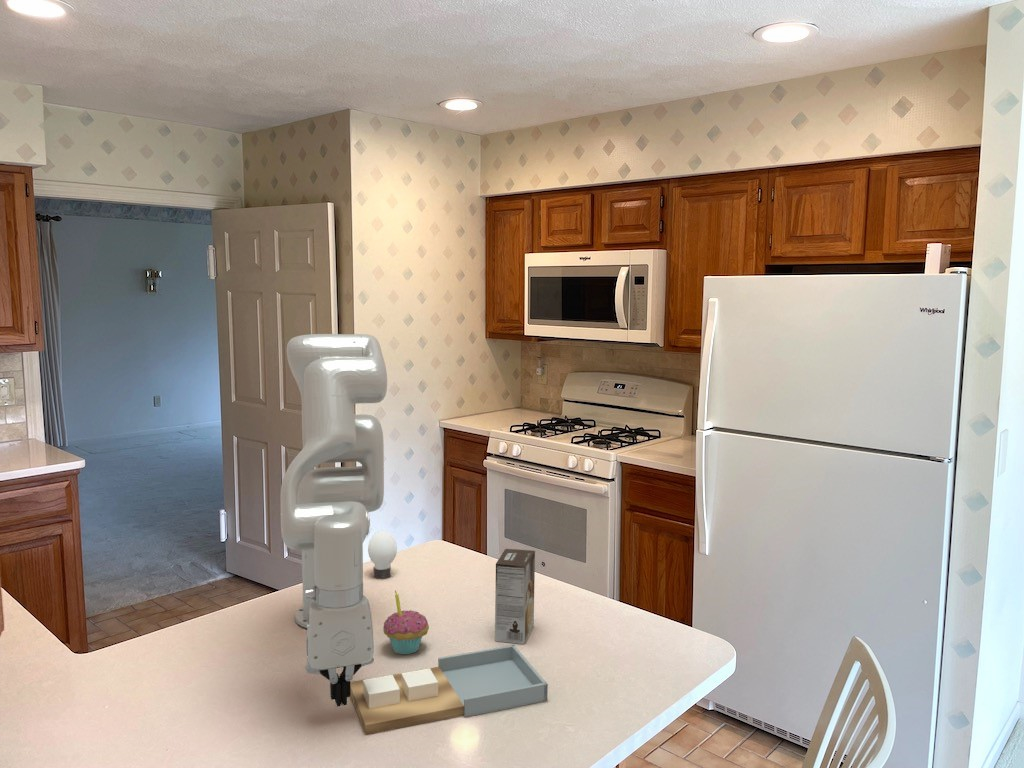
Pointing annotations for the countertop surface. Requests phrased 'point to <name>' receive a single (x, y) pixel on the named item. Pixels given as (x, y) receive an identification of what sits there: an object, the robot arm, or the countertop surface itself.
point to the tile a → (381, 691)
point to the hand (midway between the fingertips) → (340, 701)
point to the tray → (493, 680)
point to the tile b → (419, 684)
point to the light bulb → (382, 553)
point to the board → (407, 707)
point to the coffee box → (514, 596)
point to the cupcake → (405, 629)
